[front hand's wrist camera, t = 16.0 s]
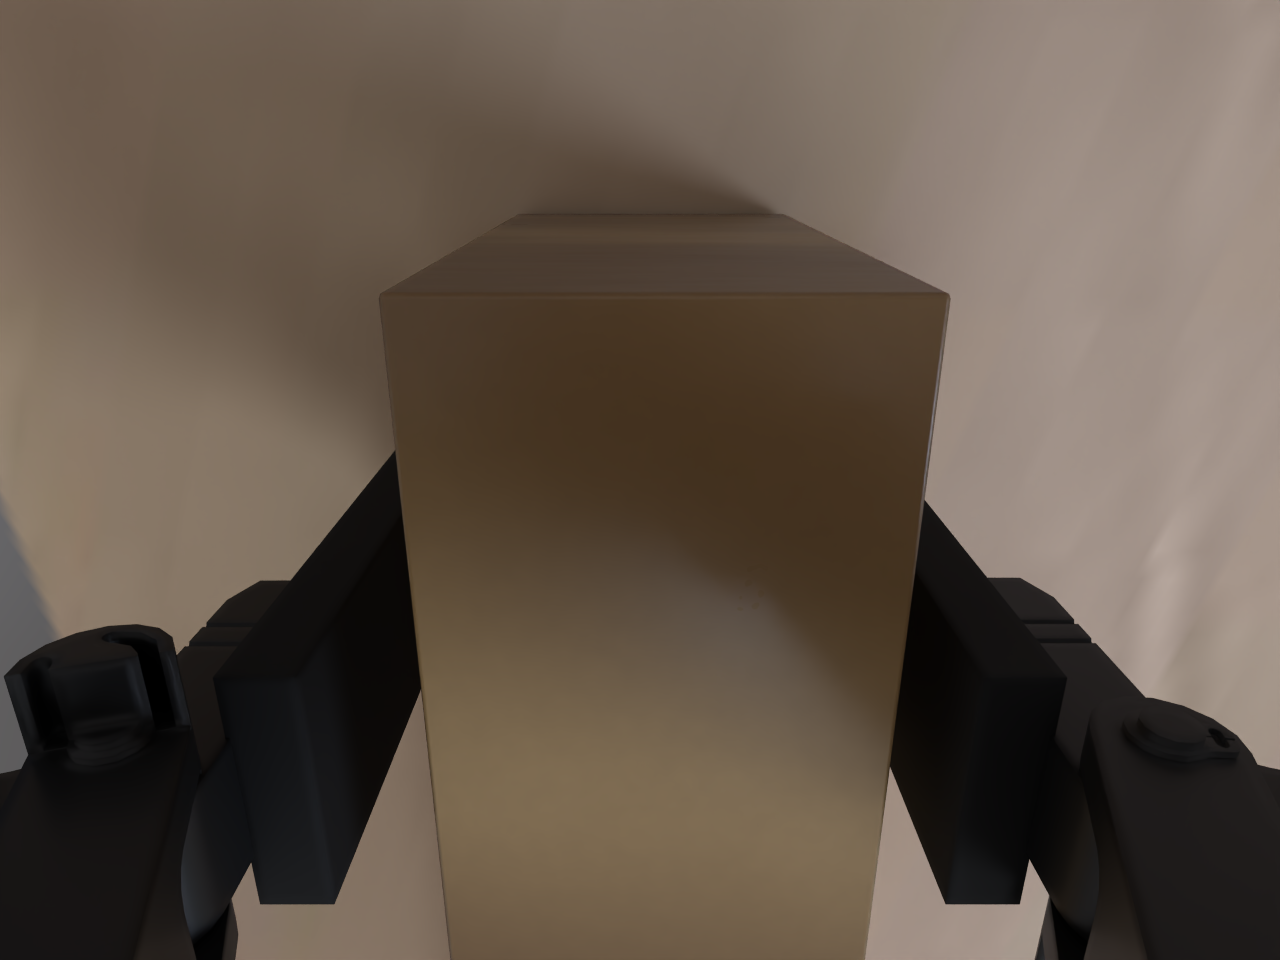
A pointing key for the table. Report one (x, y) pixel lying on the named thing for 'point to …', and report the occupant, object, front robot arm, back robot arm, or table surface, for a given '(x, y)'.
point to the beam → (661, 576)
